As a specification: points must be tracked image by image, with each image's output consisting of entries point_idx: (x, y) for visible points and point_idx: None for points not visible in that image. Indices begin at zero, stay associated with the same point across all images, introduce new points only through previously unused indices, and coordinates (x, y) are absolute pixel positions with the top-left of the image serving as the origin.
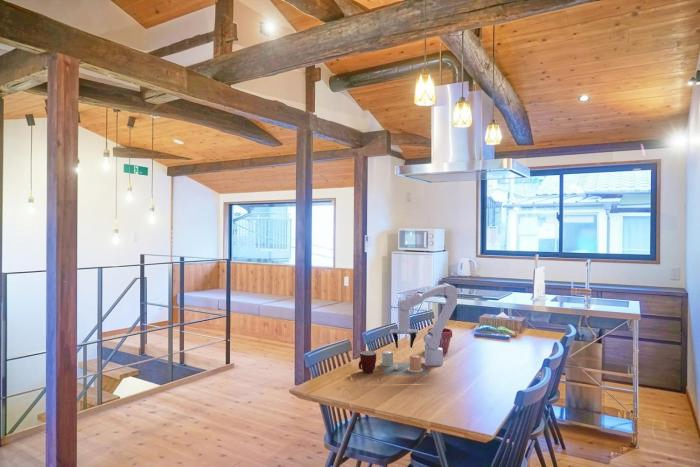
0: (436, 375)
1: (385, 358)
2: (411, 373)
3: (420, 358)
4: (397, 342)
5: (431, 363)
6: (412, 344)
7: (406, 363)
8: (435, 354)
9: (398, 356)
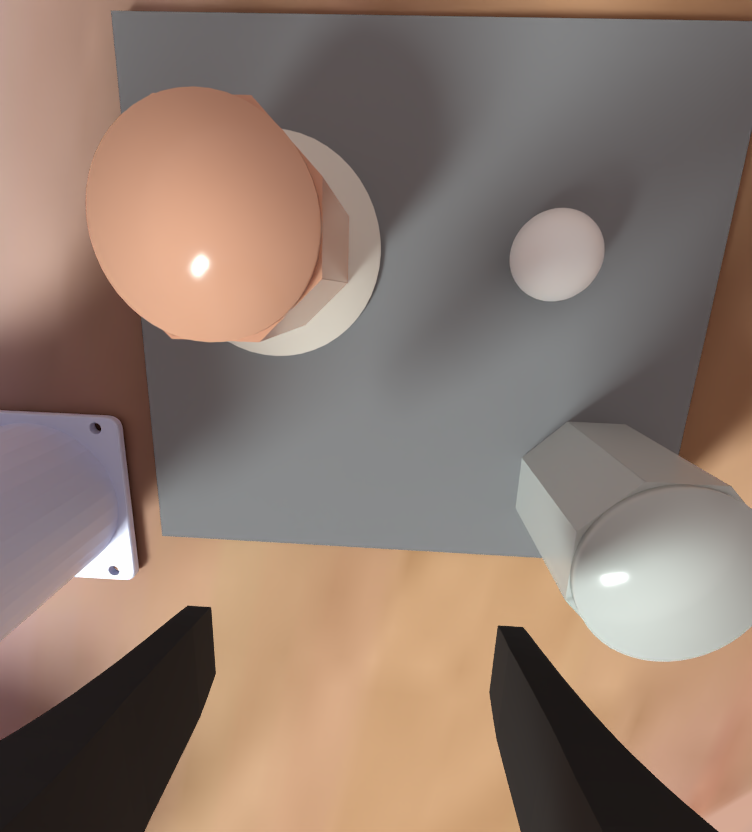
0: (24, 21)
1: (692, 466)
2: (360, 73)
3: (113, 151)
4: (555, 721)
5: (31, 430)
6: (139, 649)
7: (337, 513)
8: None
9: (365, 770)
